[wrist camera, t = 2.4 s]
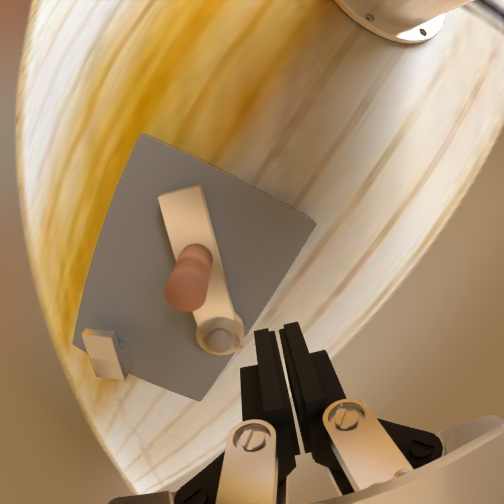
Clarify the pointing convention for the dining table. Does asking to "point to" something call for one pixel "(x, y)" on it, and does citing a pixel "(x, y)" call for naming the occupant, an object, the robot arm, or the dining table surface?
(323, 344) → the dining table surface
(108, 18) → the dining table surface
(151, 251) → the base board
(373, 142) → the dining table surface
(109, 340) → the block
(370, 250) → the dining table surface
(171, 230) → the ash link
